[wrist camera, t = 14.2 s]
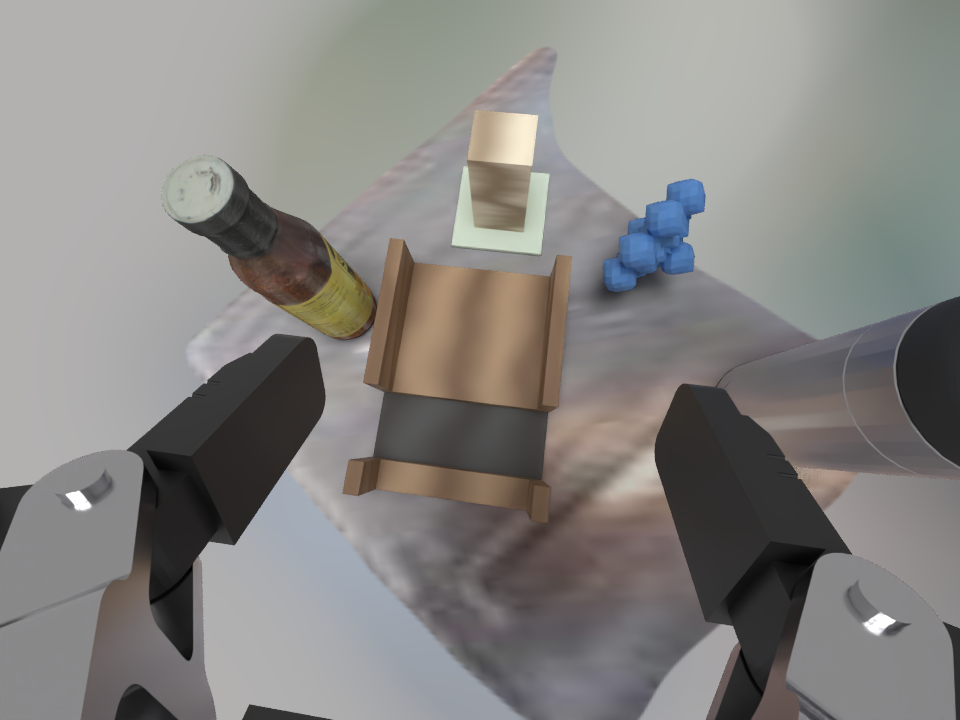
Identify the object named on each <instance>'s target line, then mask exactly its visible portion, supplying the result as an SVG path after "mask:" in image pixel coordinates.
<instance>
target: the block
mask: <svg viewBox="0 0 960 720" xmlns="http://www.w3.org/2000/svg"><path fill="white" fill-rule="evenodd" d="M537 121H538V115H527V114H515V113H503V112H491V111H479V110H475V114H474V121H473V127H472V133H471V140H470V146H469V152H468V158H467V162H468V172H469V182H470V191H471V201H472V210H473V220H474V227H475V228H484V229H494V230H504V231H513V232H524V224H525V216H526V208H527V200H528V193H529V185H530V177H531V169H532V161H533V153H534V145H535V137H536V129H537Z"/></svg>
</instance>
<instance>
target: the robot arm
mask: <svg viewBox="0 0 960 720" xmlns="http://www.w3.org/2000/svg"><path fill="white" fill-rule="evenodd" d="M325 397H326V396H325V388H324V383H323V378H322V373H321V367H320V362H319V357H318V352H317V347H316V344H315V342H314V340H313V339H311V338H308V337H300V336H292V335H283V334H274V335H272V336H271V337H270V338H269V339H268V340H266V341H265V342H264V343H263V344H262V345H261V346H260V347H259V348H258V349H257V350H255V351H254V352H253V353H248V354H246V355H244V356H242V357H240V358H238V359H236V360H234V361H232V362H230V363H228V364H226V365H225V366H223V367H222V368H221V369H220V370H219V371H218V372H217V373H215V374H214V375H213V376H212V377H211V378H210V379H208V382H207V384H203V385H201V386H200V387H199V388H198V389H197V390H196V391H195V392H193V395H192V397H188V398H187V399H185V400H184V401H183V402H182V403H181V404H180V405H178V406H177V407H176V408H175V409H174V410H173V411H172V412H170V413H169V414H168V415H167V416H166V417H164V418H163V419H162V420H161V421H160V422H159V423H158V424H157V425H155V426H154V427H153V428H152V429H151V430H150V431H148V432H147V433H146V434H145V435H144V436H143V437H141V438H140V439H139V440H138V441H137V442H136V443H134V444H133V445H132V446H131V447H130V448H129V449H127V450H126V451H125V450H109V451H101V452H97V453H92V454H89V455H86V456H82V457H80V458H77V459H75V460H72V461H70V462H68V463H66V464H64V465H62V466H60V467H58V468H56V469H54V470H53V471H51V472H50V473H48V474H47V475H45V476H44V477H42V478H41V479H40V480H39V481H37V482H36V483H35V484H34V485H25V486H17V487H9V488H0V720H216V712H215V706H214V701H213V697H212V693H211V690H210V687H209V684H208V681H207V677H206V672H205V664H204V632H203V589H202V563H201V560H200V558H199V554H200V553H201V551H202V550H203V549H204V548H205V546H206V545H207V543H208V542H209V541H210V542H216V543H223V544H229V545H235V544H236V542H237V541H238V539H239V538H240V536H241V535H242V533H243V532H244V530H245V529H246V527H247V526H248V525H249V523H250V521H251V520H252V519H253V517H254V516H255V514H256V513H257V511H258V509H259V508H260V507H261V505H262V504H263V502H264V501H265V499H266V498H267V496H268V495H269V493H270V492H271V490H272V489H273V487H274V486H275V484H276V483H277V481H278V480H279V478H280V477H281V476H282V474H283V473H284V471H285V470H286V468H287V467H288V465H289V464H290V462H291V461H292V459H293V458H294V456H295V455H296V453H297V452H298V450H299V449H300V447H301V446H302V444H303V443H304V441H305V440H306V438H307V437H308V435H309V434H310V433H311V431H312V430H313V428H314V427H315V425H316V424H317V422H318V421H319V419H320V417H321V415H322V413H323V410H324V406H325ZM655 462H656V466H657V469H658V473H659V476H660V479H661V482H662V485H663V488H664V492H665V495H666V498H667V501H668V504H669V507H670V510H671V514H672V517H673V520H674V523H675V526H676V529H677V533H678V536H679V539H680V542H681V545H682V548H683V551H684V555H685V558H686V561H687V564H688V567H689V570H690V573H691V577H692V580H693V583H694V586H695V589H696V592H697V596H698V599H699V602H700V605H701V608H702V611H703V614H704V618H705V621H706V622H712V623H718V624H725V625H731V626H733V627H734V629H735V632H736V635H737V638H738V640H739V642H738V643H737V644H736V645H735V647H734V648H733V650H732V652H731V654H730V657H729V660H728V662H727V665H726V668H725V670H724V673H723V675H722V678H721V681H720V683H719V686H718V689H717V691H716V694H715V697H714V699H713V702H712V705H711V707H710V710H709V713H708V715H707V718H706V720H960V629H959V628H957V627H955V626H952V625H950V624H947V623H945V622H942V621H941V619H940V618H939V617H938V615H937V614H936V612H935V611H934V610H933V609H932V608H931V606H930V605H929V604H928V603H927V602H926V601H925V600H924V599H923V598H922V597H921V596H920V595H919V594H918V593H917V592H916V591H915V590H913V589H912V588H911V587H910V586H909V585H908V584H906V583H905V582H904V581H902V580H901V579H900V578H898V577H897V576H895V575H894V574H892V573H891V572H889V571H887V570H886V569H884V568H882V567H880V566H879V565H877V564H874V563H873V562H870V561H868V560H865V559H863V558H861V557H857V556H854V555H852V553H851V552H850V550H849V549H848V547H847V546H846V544H845V543H844V542H843V540H842V539H841V537H840V536H839V534H838V533H837V531H836V530H835V529H834V527H833V525H832V524H831V522H830V521H829V520H828V518H827V517H826V515H825V514H824V512H823V511H822V509H821V508H820V506H819V505H818V503H817V502H816V500H815V499H814V498H813V496H812V495H811V493H810V492H809V490H808V489H807V487H806V486H805V484H804V483H803V481H802V480H801V479H798V478H797V476H798V474H797V473H796V471H795V470H794V468H793V467H792V466H794V467H804V468H815V469H827V470H839V471H851V472H863V473H874V474H886V475H898V476H910V477H922V478H934V479H949V480H960V296H959V297H956V298H953V299H950V300H946V301H943V302H940V303H937V304H934V305H930V306H927V307H924V308H921V309H918V310H915V311H911V312H908V313H905V314H902V315H898V316H896V317H892V318H889V319H887V320H883V321H880V322H877V323H874V324H870V325H867V326H864V327H861V328H858V329H854V330H851V331H848V332H845V333H842V334H838V335H835V336H833V337H829V338H826V339H823V340H819V341H816V342H813V343H810V344H806V345H803V346H800V347H797V348H794V349H791V350H787V351H784V352H781V353H778V354H775V355H771V356H768V357H765V358H762V359H758V360H755V361H752V362H749V363H746V364H743V365H740V366H738V367H736V368H734V369H732V370H730V371H729V372H728V373H727V374H726V375H725V376H724V377H723V378H722V379H721V381H720V382H719V384H718V385H717V387H709V386H701V385H693V384H682V385H680V387H679V388H678V389H677V391H676V393H675V395H674V398H673V400H672V402H671V405H670V407H669V409H668V412H667V414H666V416H665V419H664V421H663V423H662V426H661V428H660V430H659V433H658V435H657V438H656V443H655ZM242 720H331V719H326V718H321V717H315V716H310V715H304V714H299V713H293V712H288V711H282V710H277V709H271V708H265V707H261V706H255V705H249V707H248V709H247V711H246V713H245V715H244V717H243V719H242Z"/></svg>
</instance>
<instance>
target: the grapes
mask: <svg viewBox="0 0 960 720" xmlns="http://www.w3.org/2000/svg"><path fill="white" fill-rule="evenodd" d="M704 207H705V192H704V188H703V184H702V182H700V181H697V180H694V179H688V180H683V181H678V182H675V183H672V184H669V185H668V186H667V198H666V201H661V202H656V203H653V204H649V205H647V206H646V218H640V219H635V220H632V221H629V223H628V235H625V236H622V237H620V239H619V253H618V255H617V257H616V258H611V259H607V260H604V261H603V281H604V285H605V286H606V288H607V289H608V290H609V291H613V292H621V291H627V290H631V289H634V287H635V286H636V279H637V278H638V277H642V276H646V274H648V273H654V272H655V271H656V270H657V267H659V266H661V269H662V271H664V272H665V273H666V274H683V273H687V272H692V271H693V269H694V258H695V256H694V252H693V248H692V246H691V245H690V244H688V243H685V242H683V237H687V236H688V232H689V219H691V215H693V214H697V213H701V212H704Z"/></svg>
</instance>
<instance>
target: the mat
mask: <svg viewBox="0 0 960 720" xmlns="http://www.w3.org/2000/svg"><path fill="white" fill-rule="evenodd" d="M548 183H549V174H543V173H532V172H531V177H530V185H529V193H528V200H527V208H526V216H525V224H524V232H513V231H504V230H494V229H484V228H475V227H474V220H473V210H472V201H471V191H470V182H469V172H468V167H464V168H463V174H462V181H461V187H460V194H459V200H458V207H457V213H456V219H455V226H454V232H453V239H452V247H457V248H467V249H477V250H487V251H497V252H507V253H517V254H527V255H537V256H541V248H542V239H543V229H544V220H545V211H546V201H547V192H548Z"/></svg>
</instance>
